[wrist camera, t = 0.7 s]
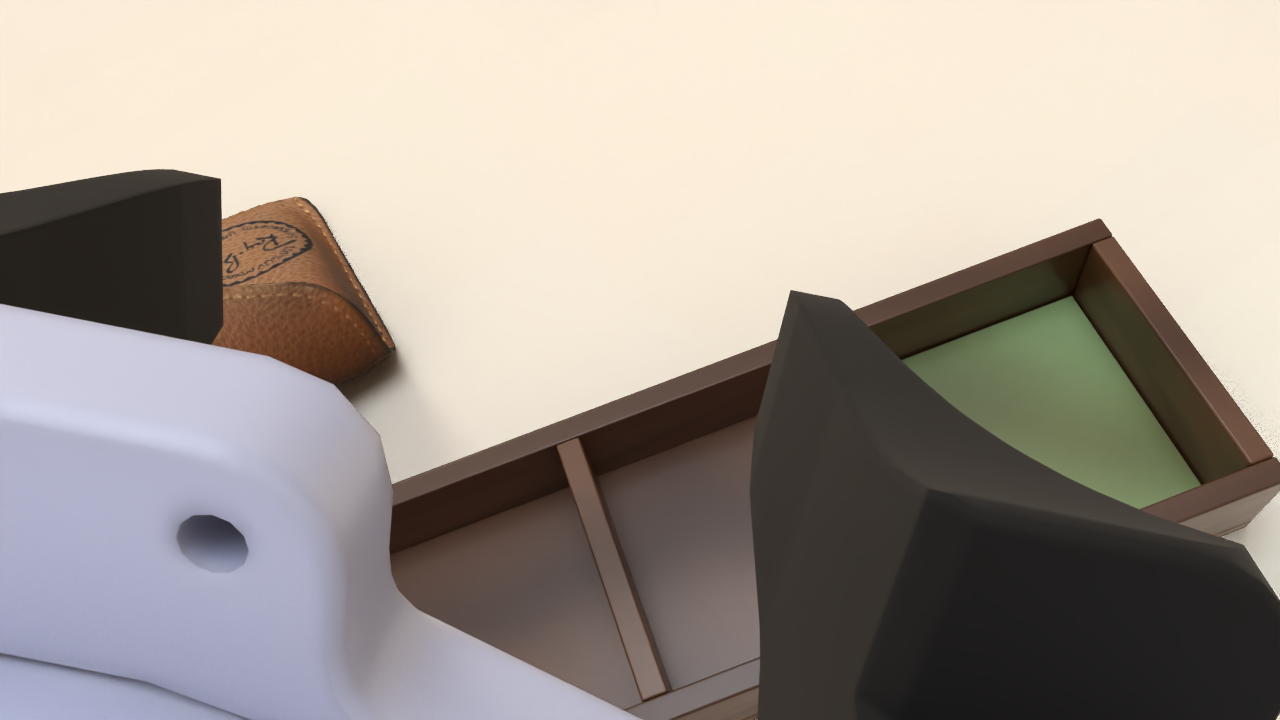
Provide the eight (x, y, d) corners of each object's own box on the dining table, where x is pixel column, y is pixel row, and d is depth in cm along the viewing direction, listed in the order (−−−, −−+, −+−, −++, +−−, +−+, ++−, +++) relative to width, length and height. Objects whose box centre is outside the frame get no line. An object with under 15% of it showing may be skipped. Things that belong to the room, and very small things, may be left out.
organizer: (1247, 526, 26) (1293, 478, 23) (380, 865, 25) (330, 854, 22) (1076, 280, 30) (1100, 217, 27) (322, 566, 29) (274, 527, 26)
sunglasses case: (301, 174, 35) (255, 118, 28) (411, 361, 35) (390, 349, 28) (-234, 458, 32) (-421, 470, 26) (-113, 658, 33) (-269, 720, 26)
